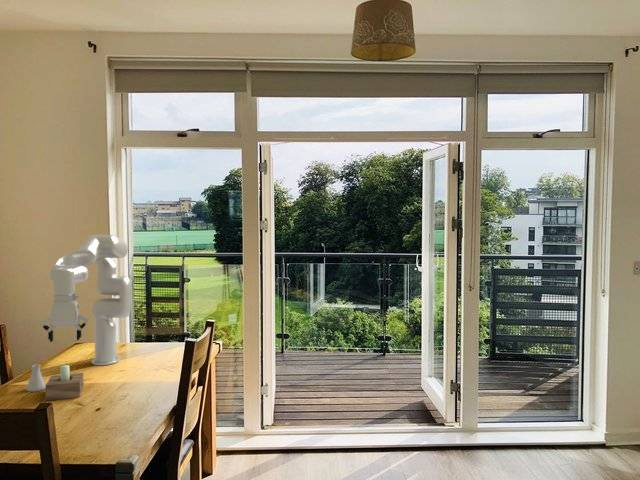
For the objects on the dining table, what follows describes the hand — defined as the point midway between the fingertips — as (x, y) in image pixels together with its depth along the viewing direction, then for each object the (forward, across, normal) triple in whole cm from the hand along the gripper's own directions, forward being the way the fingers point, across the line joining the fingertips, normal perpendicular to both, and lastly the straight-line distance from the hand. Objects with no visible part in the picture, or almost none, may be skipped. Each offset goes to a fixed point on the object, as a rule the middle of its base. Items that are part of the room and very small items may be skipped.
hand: (65, 340), depth 196 cm
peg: (+21, 0, 0) cm, 21 cm away
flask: (+22, +12, -9) cm, 27 cm away
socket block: (+22, 0, 0) cm, 22 cm away
